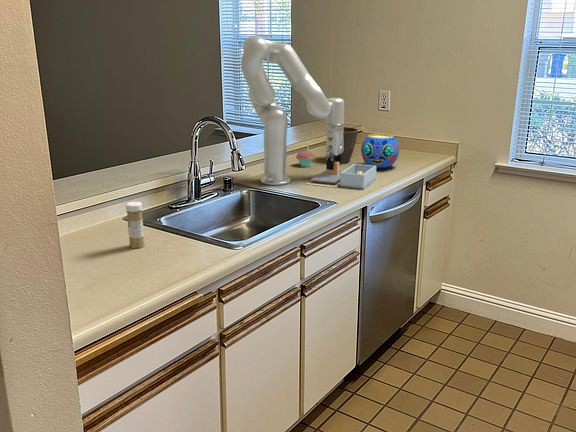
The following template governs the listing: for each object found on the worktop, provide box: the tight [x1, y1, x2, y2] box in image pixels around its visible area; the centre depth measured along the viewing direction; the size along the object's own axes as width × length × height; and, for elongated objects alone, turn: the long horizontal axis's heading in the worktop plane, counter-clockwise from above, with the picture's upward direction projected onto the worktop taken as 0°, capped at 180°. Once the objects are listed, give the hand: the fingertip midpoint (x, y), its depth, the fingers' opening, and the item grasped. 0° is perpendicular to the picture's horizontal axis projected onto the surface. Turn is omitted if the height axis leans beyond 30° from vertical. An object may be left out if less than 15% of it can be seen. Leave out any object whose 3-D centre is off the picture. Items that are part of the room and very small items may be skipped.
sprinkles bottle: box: [125, 201, 145, 249], centre depth 176 cm, size 5×5×14 cm
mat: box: [306, 180, 340, 189], centre depth 255 cm, size 22×13×1 cm, turn 156°
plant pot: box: [333, 126, 359, 165], centre depth 286 cm, size 15×15×16 cm
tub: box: [339, 163, 377, 190], centre depth 249 cm, size 18×10×6 cm, turn 156°
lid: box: [309, 162, 343, 184], centre depth 254 cm, size 19×11×7 cm, turn 156°
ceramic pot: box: [360, 133, 400, 169], centre depth 275 cm, size 18×18×15 cm
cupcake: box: [295, 142, 315, 168], centre depth 279 cm, size 9×8×12 cm
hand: (333, 167), depth 257 cm, fingers open, 9 cm apart
